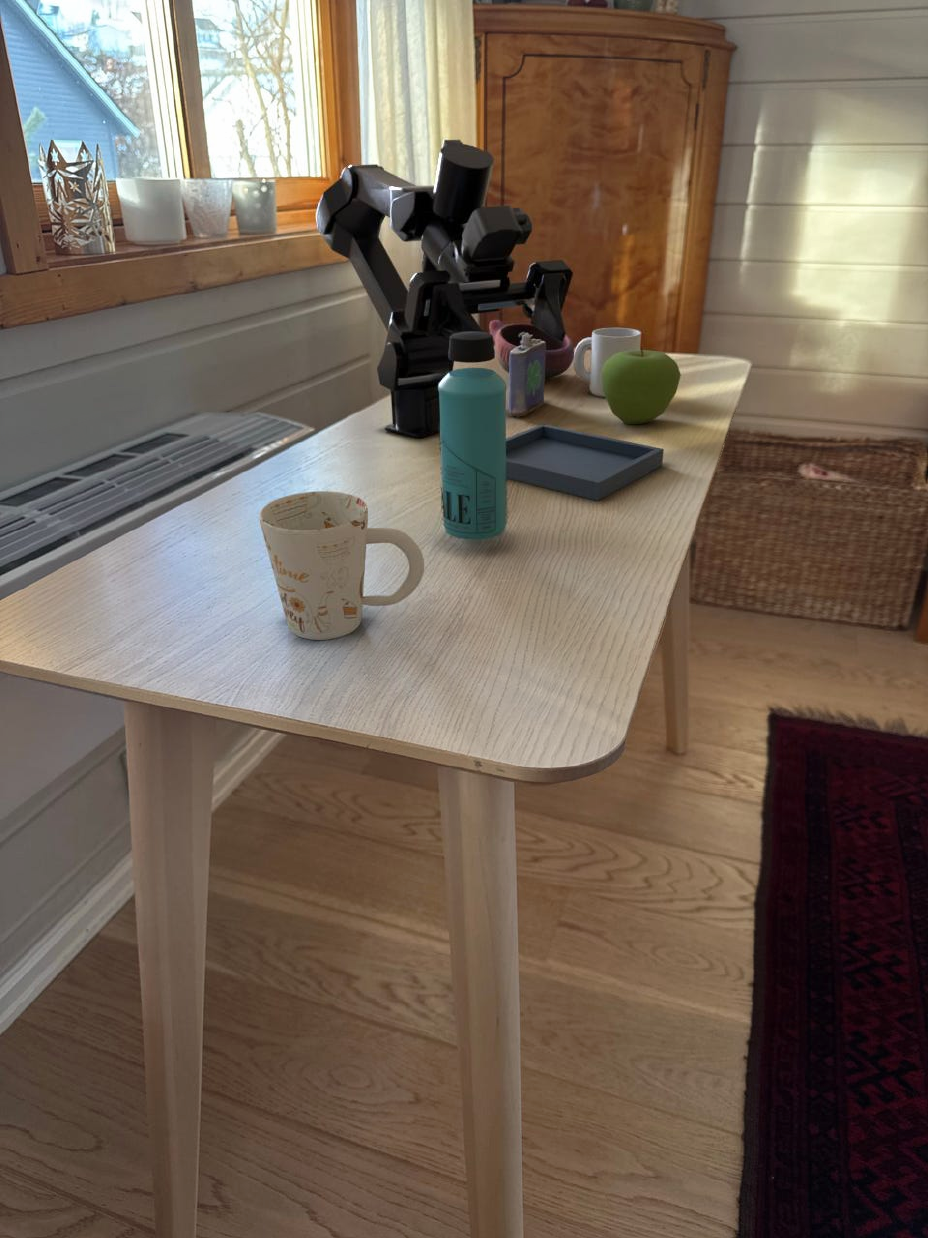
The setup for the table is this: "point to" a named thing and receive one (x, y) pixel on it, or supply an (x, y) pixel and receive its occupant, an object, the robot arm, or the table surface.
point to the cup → (603, 353)
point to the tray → (577, 461)
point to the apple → (639, 384)
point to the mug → (328, 561)
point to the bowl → (508, 338)
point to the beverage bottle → (473, 442)
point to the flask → (526, 375)
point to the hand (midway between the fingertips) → (525, 342)
